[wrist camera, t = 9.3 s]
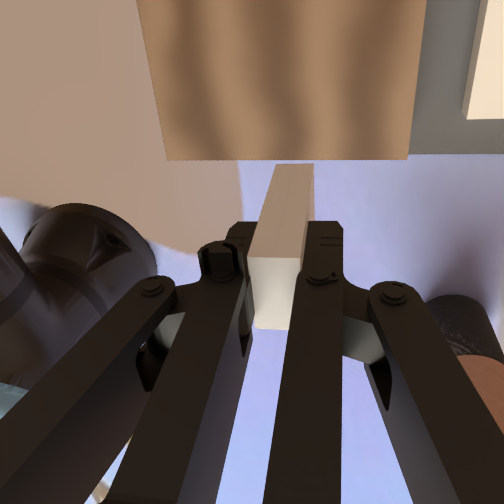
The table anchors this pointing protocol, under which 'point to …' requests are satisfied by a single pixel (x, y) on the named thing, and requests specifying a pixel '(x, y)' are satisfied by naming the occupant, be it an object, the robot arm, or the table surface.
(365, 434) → the table surface
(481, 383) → the travel mug
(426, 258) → the table surface
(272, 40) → the wooden block
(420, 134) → the mat
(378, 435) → the table surface
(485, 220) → the table surface
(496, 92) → the tile
